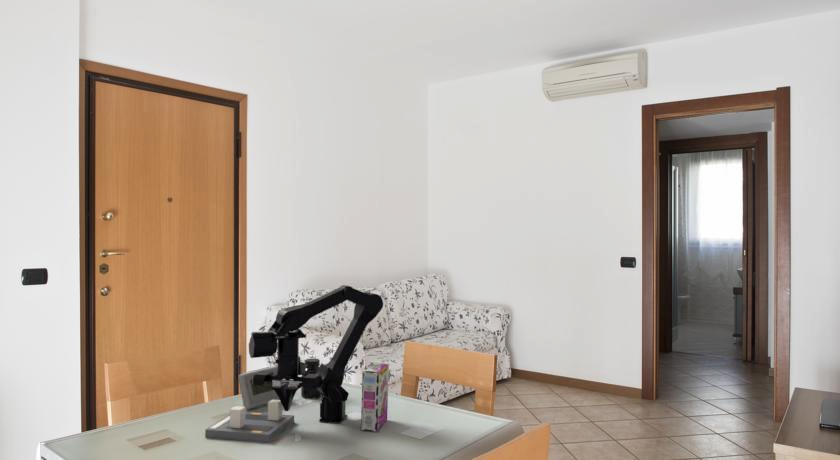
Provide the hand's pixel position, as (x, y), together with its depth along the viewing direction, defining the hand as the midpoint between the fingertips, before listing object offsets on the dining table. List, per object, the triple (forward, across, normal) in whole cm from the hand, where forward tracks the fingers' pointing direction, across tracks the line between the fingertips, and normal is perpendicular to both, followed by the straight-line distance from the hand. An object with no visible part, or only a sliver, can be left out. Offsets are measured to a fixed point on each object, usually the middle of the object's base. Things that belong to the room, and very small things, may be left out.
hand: (287, 410), depth 157 cm
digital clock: (+5, +16, -19) cm, 25 cm away
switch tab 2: (+2, +4, 0) cm, 4 cm away
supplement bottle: (+5, +4, -30) cm, 31 cm away
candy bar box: (+5, -24, -7) cm, 25 cm away
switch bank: (+5, +9, +4) cm, 11 cm away
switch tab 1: (+2, +11, +8) cm, 13 cm away
